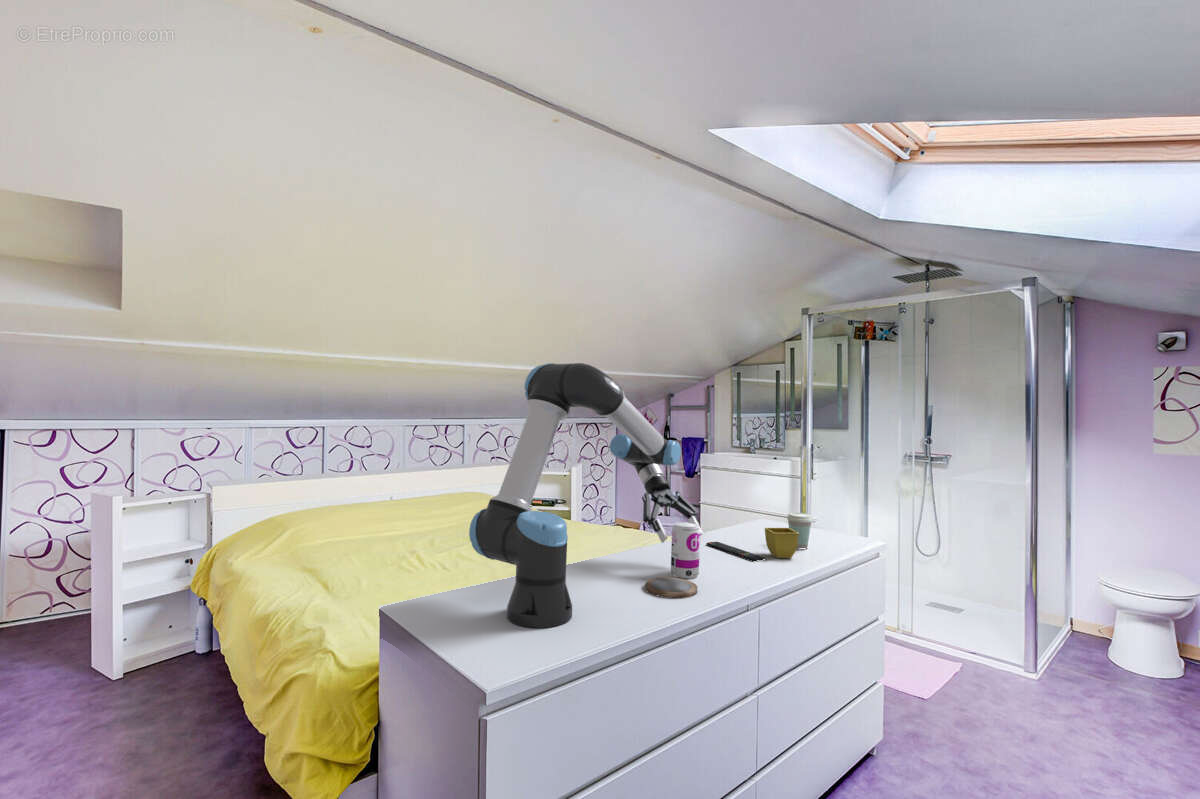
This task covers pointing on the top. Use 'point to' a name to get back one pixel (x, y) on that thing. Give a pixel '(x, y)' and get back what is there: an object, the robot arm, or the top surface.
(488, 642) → the top surface
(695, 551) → the supplement can
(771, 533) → the flower pot
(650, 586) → the walnut pad
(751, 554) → the remote control
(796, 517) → the coffee cup
